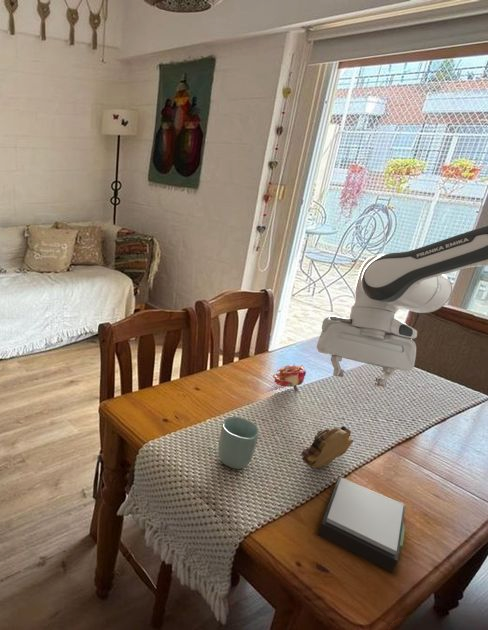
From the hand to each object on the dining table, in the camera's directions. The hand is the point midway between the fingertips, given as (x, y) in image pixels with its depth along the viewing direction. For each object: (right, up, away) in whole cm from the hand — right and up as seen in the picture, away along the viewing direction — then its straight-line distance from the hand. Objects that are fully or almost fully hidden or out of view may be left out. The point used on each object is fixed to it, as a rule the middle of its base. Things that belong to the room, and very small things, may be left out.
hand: (358, 381), depth 102 cm
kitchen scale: (-10, -26, -15) cm, 32 cm away
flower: (-1, -7, +32) cm, 33 cm away
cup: (-29, -19, +1) cm, 35 cm away
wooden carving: (-8, -20, +1) cm, 21 cm away
